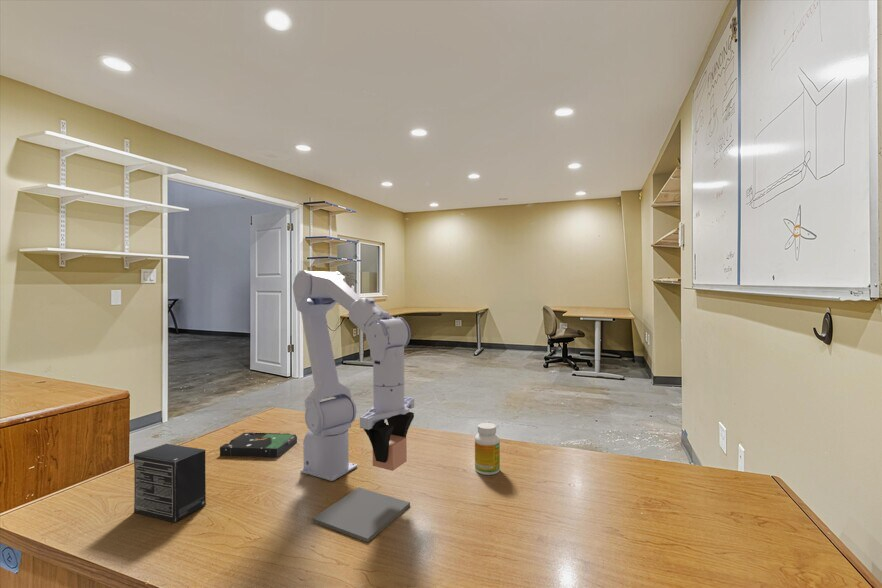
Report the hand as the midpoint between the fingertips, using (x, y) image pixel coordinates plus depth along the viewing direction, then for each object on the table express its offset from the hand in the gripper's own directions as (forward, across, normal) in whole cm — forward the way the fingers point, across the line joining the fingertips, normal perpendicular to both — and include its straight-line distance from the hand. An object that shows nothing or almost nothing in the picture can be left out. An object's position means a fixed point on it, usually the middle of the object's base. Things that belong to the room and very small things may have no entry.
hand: (389, 455), depth 74 cm
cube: (+1, 0, 0) cm, 1 cm away
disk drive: (+9, +6, +44) cm, 45 cm away
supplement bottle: (+9, +20, -11) cm, 25 cm away
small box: (+9, -20, +34) cm, 41 cm away
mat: (+8, -6, +2) cm, 10 cm away
